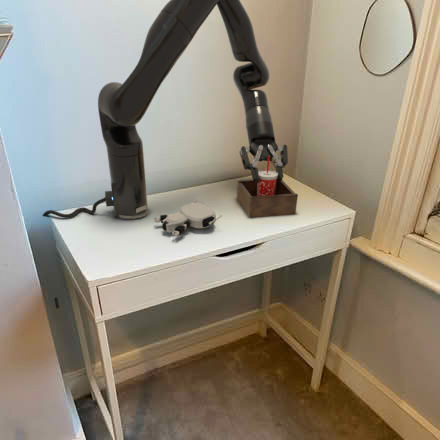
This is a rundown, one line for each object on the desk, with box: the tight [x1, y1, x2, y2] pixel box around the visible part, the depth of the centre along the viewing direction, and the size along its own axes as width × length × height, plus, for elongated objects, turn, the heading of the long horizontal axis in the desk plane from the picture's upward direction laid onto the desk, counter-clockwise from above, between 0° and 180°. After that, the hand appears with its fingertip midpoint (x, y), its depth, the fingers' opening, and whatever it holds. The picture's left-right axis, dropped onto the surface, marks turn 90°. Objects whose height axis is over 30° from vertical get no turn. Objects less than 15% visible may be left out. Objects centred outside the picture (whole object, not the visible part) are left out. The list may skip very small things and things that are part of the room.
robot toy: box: [153, 199, 223, 237], centre depth 115 cm, size 12×4×15 cm
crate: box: [236, 178, 299, 218], centre depth 127 cm, size 14×14×6 cm
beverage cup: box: [257, 156, 278, 196], centre depth 124 cm, size 6×6×14 cm
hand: (268, 181), depth 123 cm, fingers closed on beverage cup, 6 cm apart
